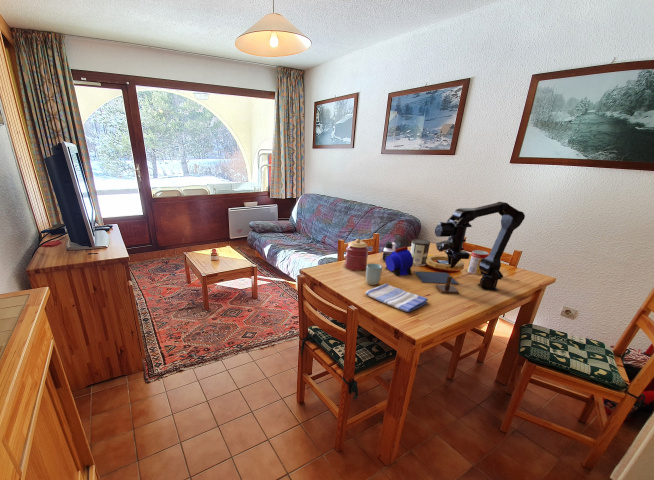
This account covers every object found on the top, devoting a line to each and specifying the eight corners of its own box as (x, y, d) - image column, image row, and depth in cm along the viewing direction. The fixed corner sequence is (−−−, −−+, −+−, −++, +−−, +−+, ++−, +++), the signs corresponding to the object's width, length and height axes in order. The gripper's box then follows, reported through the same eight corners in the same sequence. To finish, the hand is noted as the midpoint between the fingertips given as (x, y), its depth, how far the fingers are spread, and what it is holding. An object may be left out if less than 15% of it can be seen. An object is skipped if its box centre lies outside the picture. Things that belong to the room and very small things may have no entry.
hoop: (454, 259, 166) (455, 255, 166) (469, 270, 151) (470, 266, 150) (421, 258, 168) (422, 255, 167) (433, 269, 152) (433, 265, 152)
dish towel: (385, 286, 159) (386, 281, 158) (429, 303, 142) (430, 298, 141) (363, 295, 150) (364, 290, 148) (407, 314, 132) (408, 308, 131)
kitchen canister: (349, 262, 195) (352, 234, 188) (369, 266, 188) (373, 238, 181) (340, 268, 185) (343, 239, 178) (361, 272, 178) (364, 242, 171)
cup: (380, 287, 159) (383, 269, 155) (365, 286, 160) (367, 267, 156) (379, 281, 166) (381, 263, 162) (364, 280, 167) (366, 262, 163)
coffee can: (421, 260, 198) (426, 239, 192) (428, 266, 188) (433, 243, 183) (405, 260, 198) (409, 239, 192) (411, 265, 188) (416, 243, 183)
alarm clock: (412, 274, 175) (417, 249, 169) (393, 276, 173) (397, 250, 167) (399, 267, 186) (403, 243, 180) (381, 269, 183) (385, 244, 178)
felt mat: (446, 273, 177) (446, 272, 177) (458, 284, 162) (458, 283, 162) (414, 271, 179) (414, 271, 179) (422, 282, 164) (422, 282, 164)
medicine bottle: (381, 261, 196) (384, 243, 191) (382, 258, 202) (385, 240, 197) (393, 262, 193) (396, 244, 189) (394, 259, 200) (397, 241, 195)
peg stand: (451, 287, 158) (455, 273, 156) (458, 294, 151) (461, 280, 148) (435, 286, 159) (438, 273, 156) (441, 293, 152) (444, 279, 149)
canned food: (485, 272, 178) (491, 252, 173) (479, 275, 174) (484, 255, 169) (471, 268, 184) (476, 249, 179) (464, 271, 180) (469, 251, 175)
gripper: (433, 231, 155) (427, 260, 161) (447, 240, 138) (440, 273, 144) (456, 231, 154) (449, 261, 160) (473, 241, 137) (465, 274, 143)
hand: (450, 267), depth 152 cm, fingers closed on hoop, 2 cm apart
